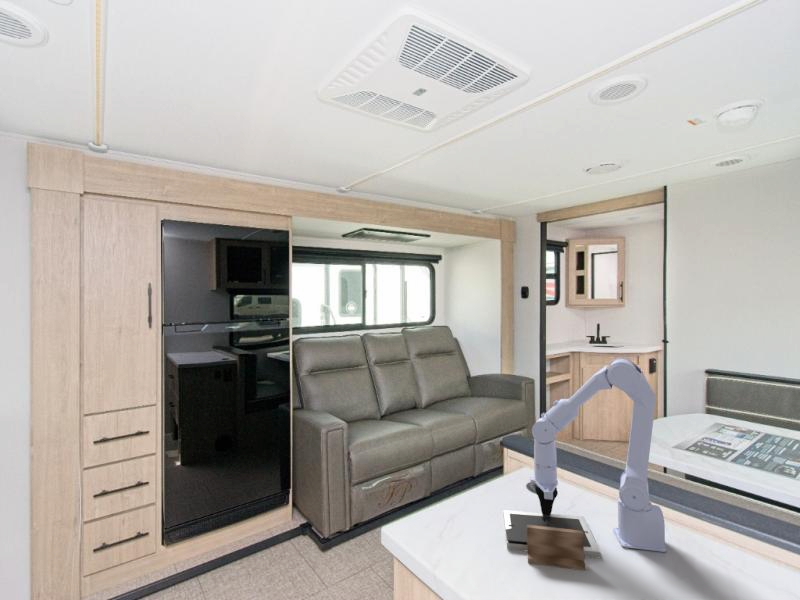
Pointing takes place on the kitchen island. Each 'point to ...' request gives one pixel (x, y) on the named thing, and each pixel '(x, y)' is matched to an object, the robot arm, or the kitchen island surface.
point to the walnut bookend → (555, 547)
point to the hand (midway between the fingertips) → (546, 513)
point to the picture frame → (520, 520)
